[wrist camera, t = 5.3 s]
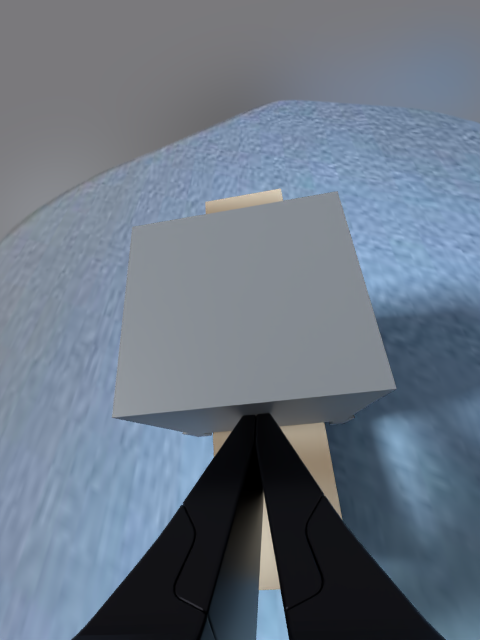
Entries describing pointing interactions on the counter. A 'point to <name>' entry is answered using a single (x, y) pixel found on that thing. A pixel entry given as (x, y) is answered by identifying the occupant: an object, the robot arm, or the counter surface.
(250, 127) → the counter surface
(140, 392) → the block
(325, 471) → the beam
